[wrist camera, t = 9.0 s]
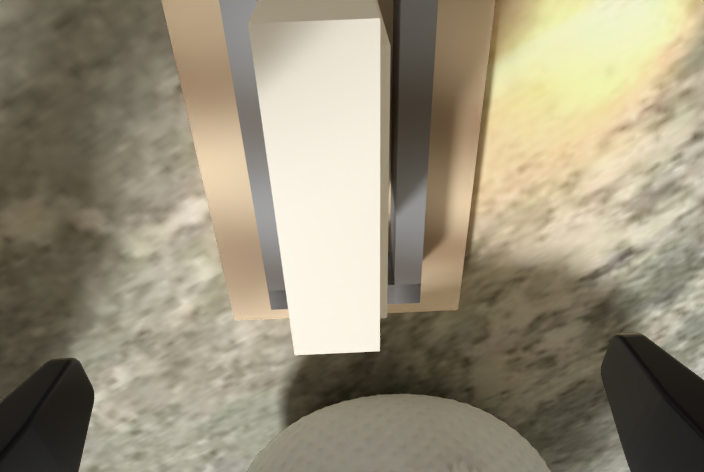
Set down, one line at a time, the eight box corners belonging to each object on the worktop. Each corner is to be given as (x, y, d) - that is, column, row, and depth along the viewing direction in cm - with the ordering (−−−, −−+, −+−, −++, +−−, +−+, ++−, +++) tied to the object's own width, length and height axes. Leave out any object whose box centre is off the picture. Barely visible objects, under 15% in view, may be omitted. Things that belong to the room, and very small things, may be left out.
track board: (455, 300, 25) (467, 343, 23) (236, 311, 25) (227, 355, 22) (527, -320, 13) (566, -351, 11) (99, -305, 13) (54, -332, 10)
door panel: (372, 211, 21) (388, 351, 15) (303, 214, 21) (294, 355, 15) (370, -50, 15) (394, 18, 10) (277, -46, 15) (247, 23, 10)
